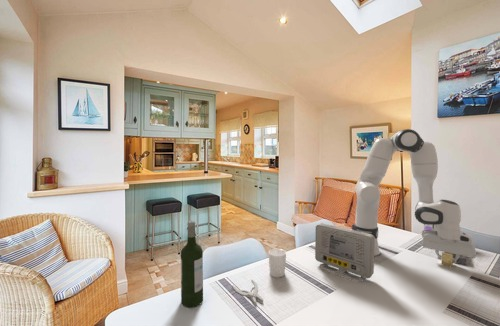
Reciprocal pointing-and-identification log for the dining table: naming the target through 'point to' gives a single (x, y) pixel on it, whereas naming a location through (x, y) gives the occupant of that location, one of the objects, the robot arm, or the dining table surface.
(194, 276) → the wine bottle
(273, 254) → the white cup
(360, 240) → the network device
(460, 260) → the grey cube holder tray
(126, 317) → the dining table surface
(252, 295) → the pliers
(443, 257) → the tan wooden toy cube
